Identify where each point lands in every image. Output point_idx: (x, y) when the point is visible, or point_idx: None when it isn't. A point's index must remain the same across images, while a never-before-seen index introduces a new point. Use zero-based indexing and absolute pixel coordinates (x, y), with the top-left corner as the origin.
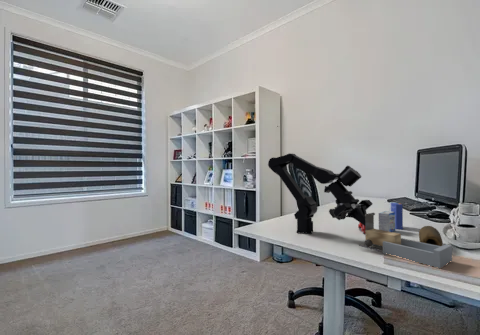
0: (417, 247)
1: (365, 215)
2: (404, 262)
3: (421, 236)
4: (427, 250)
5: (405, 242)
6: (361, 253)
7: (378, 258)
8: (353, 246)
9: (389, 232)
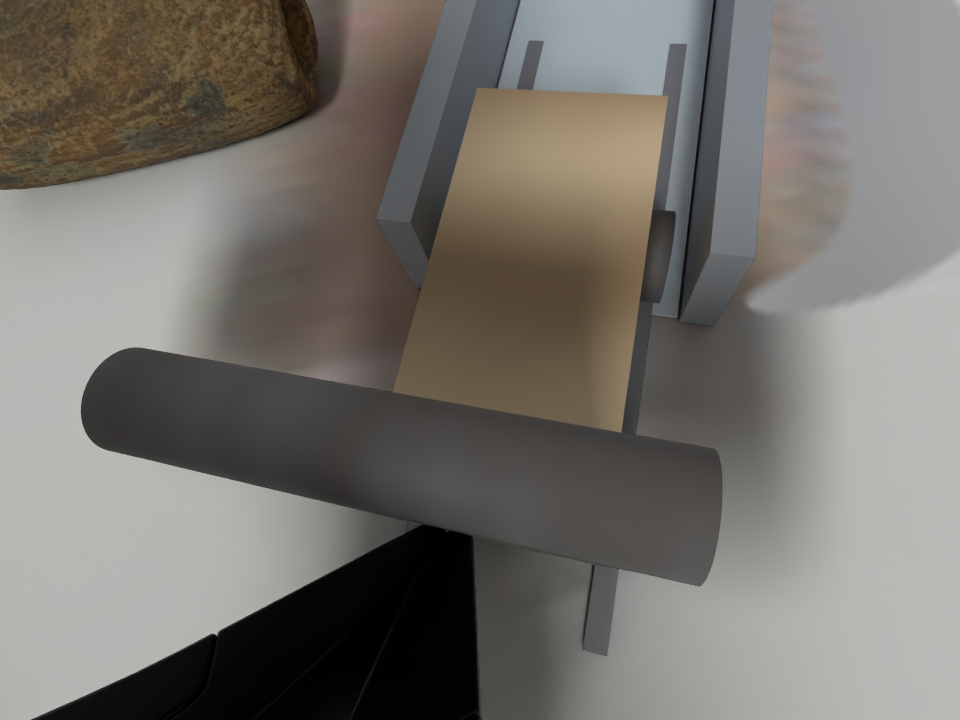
0: (476, 78)
1: (698, 543)
2: (817, 128)
3: (206, 66)
4: (496, 22)
5: (445, 148)
6: (931, 506)
7: (927, 306)
8: (711, 711)
9: (495, 203)
